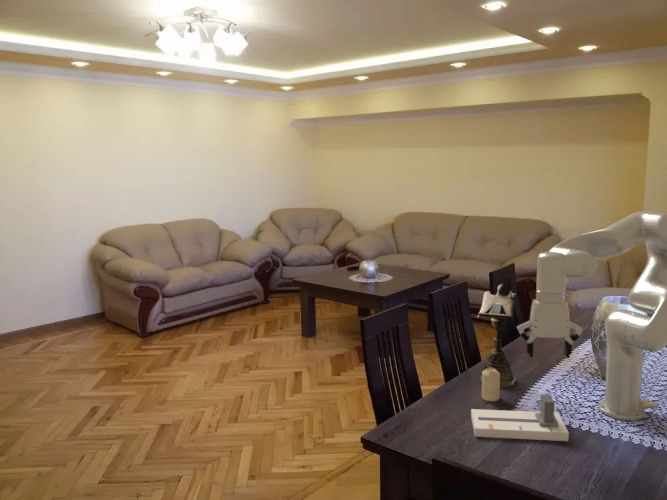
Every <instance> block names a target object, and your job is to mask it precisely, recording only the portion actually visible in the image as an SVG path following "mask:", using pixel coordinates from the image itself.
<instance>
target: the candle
mask: <svg viewBox="0 0 667 500" xmlns="http://www.w3.org/2000/svg"><path fill="white" fill-rule="evenodd" d="M482 371H483V370H482ZM482 371H481V373H482V381H481V399H483V401H487V402H497V401H499V400H500V388H501V387H500V373H499V372H498V371H497V370H496V369H494V368H493V367H491V368H487V369H485V370H484V371H483V372H482Z"/></svg>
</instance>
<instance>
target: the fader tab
mask: <svg viewBox="0 0 667 500" xmlns="http://www.w3.org/2000/svg"><path fill="white" fill-rule="evenodd" d="M539 409H540V411H539V412H540V413H535V416H536V418H537V420H538V423H539V425H545V426H558V424H559V423H558V422H557V420H556V418H555V416H554V413H555V401H554V400H553V398H552V396H551V394H543V393H542V394H540V407H539Z"/></svg>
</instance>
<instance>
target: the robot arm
mask: <svg viewBox="0 0 667 500" xmlns="http://www.w3.org/2000/svg"><path fill="white" fill-rule="evenodd" d="M642 243H645V247H646V252H647V261H646V264H645V267H644V269H643V270H642V272H641V274H640V275H639V277H637V280H636V282H635V283H634V285H633V286H632V288H631V290H630V292H629V294H628V296H627V302H628V304H629V306H630V307H631V308H633V310H634V309H635V310H636V311H639V312H640V313H639V312H636V311H632V310H628V309H614V310H613V311H611V312H609V313H608V315H607V317H606V319H605V323H604V328H605V329H604V330H605V335H606V336H605V337H606V343H607V345H606V346H607V348H606V349H607V350H606V352H607V354H606V369H605V371H606V372H605V373H606V374H605V386H604V387H605V389H604V399H603V400H601V401H600V402H598V410H600V412H601V413H603V414H605V415H607V416H608V417H612V418H614V419H617V420H624V421H639V420H641V419H644V418H645V417H646V410H647V409H651V410H653V409H654V410H655V409H658V408H659V404H658V402H656V401H650V399H647V398H646V399H645V398H644V399H643V398H642V397H641V396H642V381H643V379H642V378H643V366H644V355H643V352H642V350H644V351H646V352H652V353H657V352H660V351H662V350H663V349H664V348H665V347H666V346H667V212H659V211H658V212H657V211H647V210H641V211H635V212H633V213H631V214H629V215H627V216H625V217H624V218H622V219H619V220H618V221H616V222H615V223H612V224H611V225H609V226H607V227H604V228H602V229H598V230H594V231H590V232H585V233H582V234H579V235H575V236H572V237H569V238H567V239H565V240H563V241H561V242H559V243H557V244H555V245H553V246H552V247H551V248H550V249H549V250H548V251H544V252H540V253H539V254H538V255H537V260H536V261H537V264H536V265H537V266H536V287H535V288H536V291H535V299H532V303H531V306H530V313H529V314H530V315H529V320H527V321H525V322H523V323H521V324H519V325H517V326H516V329H517V330H518V333H519V335H520V336H521V338H522V339H523V340H524V341H525V342H526V347H525V349H526V350H525V352H526V353H527V354H528V355H529V357H530V358H533V357H534V343H533V341H534V340H535V339H536V338H548V339H549V338H551V339H553V338H554V339H555V338H556V339H560V338H562V339H563V338H564V339H565V341H564V343H563V344H564V345H563V355H564V356H565V358H567V359H570V355H572V349H573V348H572V347H573V346H572V345H573V344H574V342H576V341H577V340H578V339H579V337H580V336H581V334H582V333H583V331H584V328H582V326H579V325H578V324H576V323H574V322H572V321H571V317H570V308H569V304H568V301H567V299H569V298H572V293H571V292H567V291H566V290H567V279H570V278H571V279H585V278H589V277H591V276H592V275H594V273H595V272H596V271H597V268H598V262H597V261H598V260H597V259H596V258H608V257H615V256H621V255H623V254H624V253H626V252H628V251H630V250H631V249H633V248H635V247H637V246H639V245H641V244H642ZM641 312H642V313H641ZM643 313H646V314H649V315H652V316H649V315H646V314H643ZM528 328H529V329H528ZM526 329H528V330H529V333H528V334H526V333H525V330H526ZM571 329H573V330H574V332H573V333H572V334H571V333H570V332H571ZM570 334H571V335H570Z"/></svg>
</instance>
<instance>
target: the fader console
mask: <svg viewBox="0 0 667 500" xmlns="http://www.w3.org/2000/svg"><path fill="white" fill-rule="evenodd" d="M535 413H540V411H527V410H526V411H525V410H501V409H500V410H499V409H476V408H471V409H470V418H471V424H472V428H473V433H474V437H478V438H479V437H480V438H492V439H493V438H497V439H512V440H513V439H516V440H517V439H518V440H537V441H555V442H556V441H560V442H569V440H570V439H569V437H570V436H569V435H570V432H569V431H568V428H567V427H566V425H565V423H564V421H563V419H562V417H561V416H560V414H559V413H558V412H554V416H555V418H556V420H557V422H558V423H559V424H558V426H545V425H539V423H538V420H537V418H536V416H535Z"/></svg>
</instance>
